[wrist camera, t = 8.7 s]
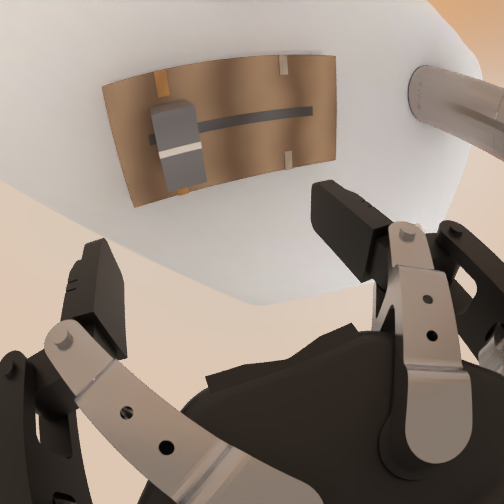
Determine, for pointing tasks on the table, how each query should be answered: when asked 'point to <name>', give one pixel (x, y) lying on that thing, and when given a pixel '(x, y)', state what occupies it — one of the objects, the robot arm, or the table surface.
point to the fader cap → (179, 144)
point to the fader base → (229, 118)
